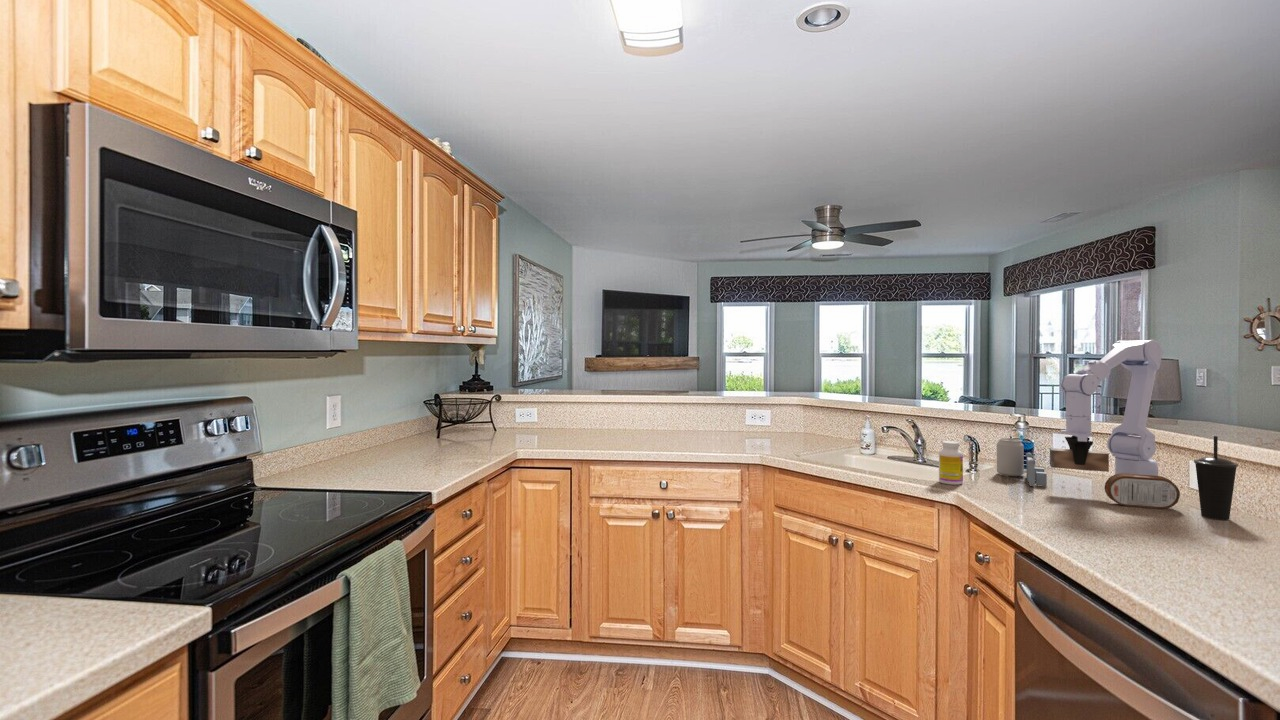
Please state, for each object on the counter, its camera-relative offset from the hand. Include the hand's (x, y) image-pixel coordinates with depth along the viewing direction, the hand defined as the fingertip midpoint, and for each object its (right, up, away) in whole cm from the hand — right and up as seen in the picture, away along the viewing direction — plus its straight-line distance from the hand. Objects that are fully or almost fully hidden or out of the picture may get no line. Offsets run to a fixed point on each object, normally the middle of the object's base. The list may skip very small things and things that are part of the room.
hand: (1078, 463), depth 162 cm
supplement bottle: (-28, -9, +15) cm, 33 cm away
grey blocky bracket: (-2, -9, +14) cm, 17 cm away
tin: (+6, -9, -13) cm, 17 cm away
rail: (0, -2, 0) cm, 2 cm away
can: (-3, -9, +25) cm, 27 cm away
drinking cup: (+15, -9, -24) cm, 30 cm away
